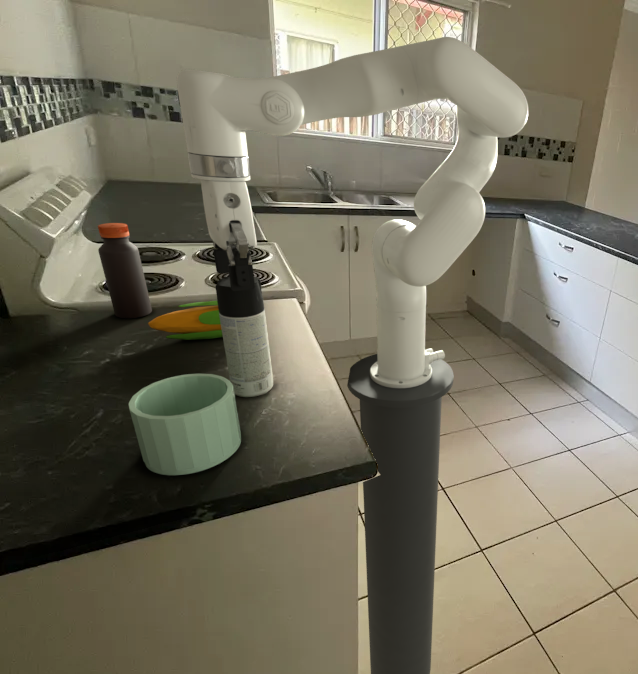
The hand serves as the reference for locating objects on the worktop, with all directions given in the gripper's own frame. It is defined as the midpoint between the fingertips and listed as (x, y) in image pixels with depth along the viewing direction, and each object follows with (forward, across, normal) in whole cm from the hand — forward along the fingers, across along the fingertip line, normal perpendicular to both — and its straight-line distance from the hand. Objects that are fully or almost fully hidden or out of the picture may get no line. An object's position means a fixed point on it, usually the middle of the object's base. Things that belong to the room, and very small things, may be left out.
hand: (235, 280), depth 75 cm
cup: (+20, -13, +10) cm, 26 cm away
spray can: (+20, 0, -1) cm, 20 cm away
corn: (+20, +27, +1) cm, 34 cm away
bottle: (+20, +47, +12) cm, 53 cm away
